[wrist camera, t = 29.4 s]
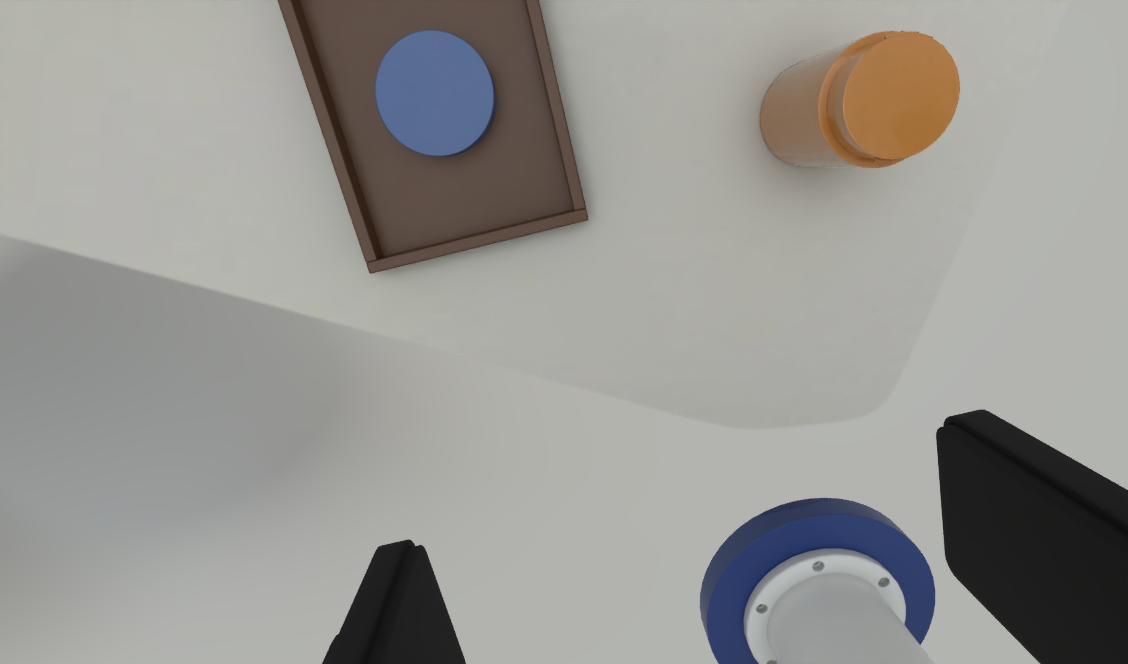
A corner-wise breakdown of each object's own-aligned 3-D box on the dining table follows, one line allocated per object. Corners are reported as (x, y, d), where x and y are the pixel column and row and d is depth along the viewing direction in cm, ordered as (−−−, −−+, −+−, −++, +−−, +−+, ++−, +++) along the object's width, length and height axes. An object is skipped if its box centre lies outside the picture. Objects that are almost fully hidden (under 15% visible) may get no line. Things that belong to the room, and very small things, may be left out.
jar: (864, 153, 36) (972, 150, 27) (767, 177, 37) (841, 182, 27) (854, 48, 35) (965, 7, 25) (752, 74, 35) (826, 42, 26)
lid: (382, 32, 33) (372, 24, 32) (497, 38, 34) (494, 31, 32) (386, 153, 35) (377, 153, 33) (496, 159, 35) (493, 159, 34)
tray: (586, 217, 37) (588, 219, 35) (378, 268, 37) (369, 274, 36) (514, -102, 32) (511, -118, 30) (277, -38, 33) (260, -50, 31)
